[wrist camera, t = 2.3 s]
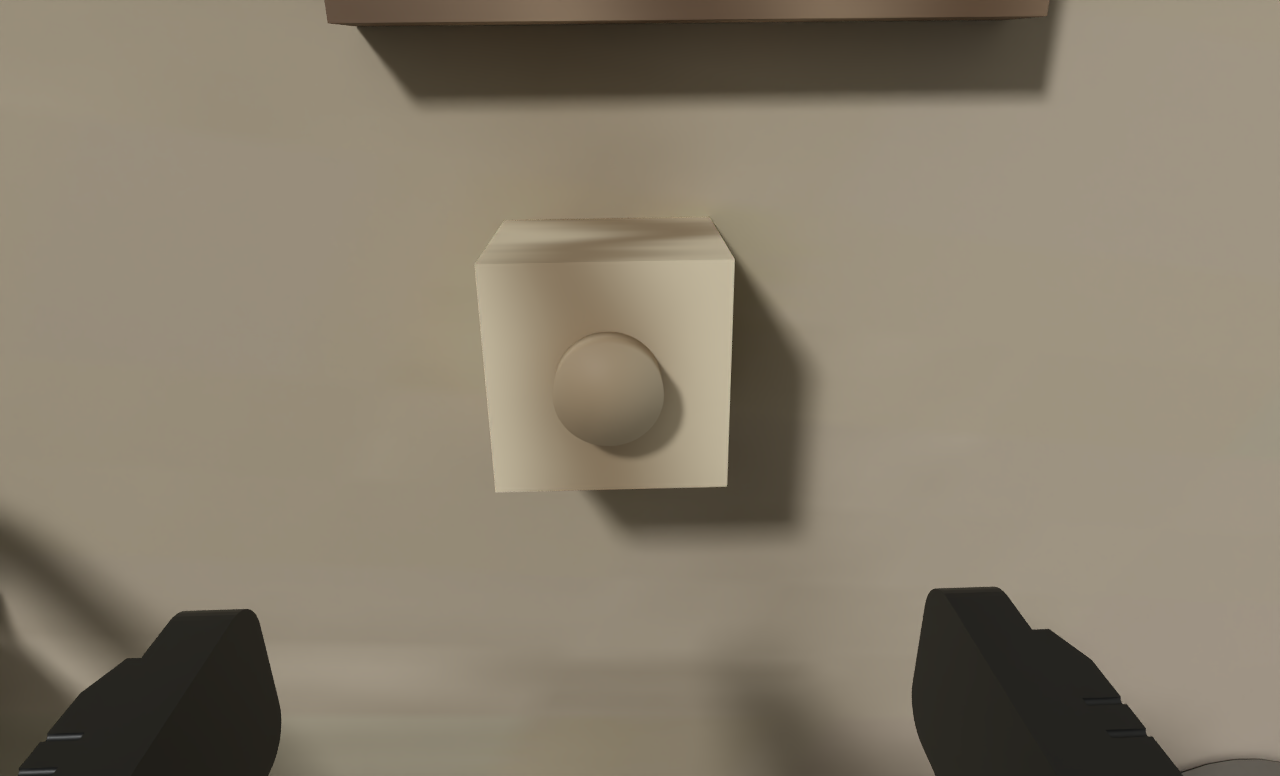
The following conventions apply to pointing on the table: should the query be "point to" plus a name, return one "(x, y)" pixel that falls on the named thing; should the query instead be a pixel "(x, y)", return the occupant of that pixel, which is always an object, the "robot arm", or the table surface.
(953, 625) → the robot arm
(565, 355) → the maple block
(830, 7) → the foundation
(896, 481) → the table surface
